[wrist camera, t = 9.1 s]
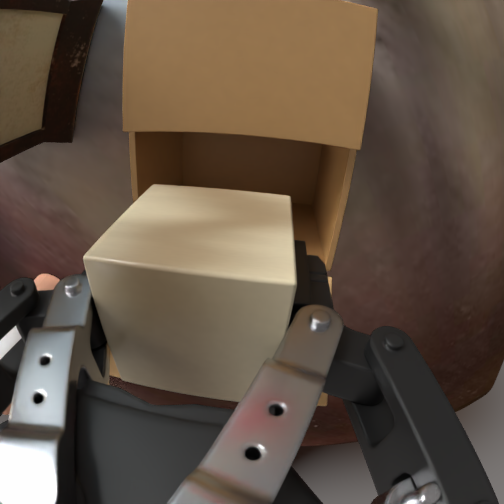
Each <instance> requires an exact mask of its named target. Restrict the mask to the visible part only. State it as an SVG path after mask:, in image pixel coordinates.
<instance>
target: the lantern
mask: <svg viewBox="0 0 504 504" xmlns="http://www.w3.org/2000/svg"><path fill="white" fill-rule="evenodd" d="M102 3H103V0H0V163H1V162H3V161H5V160H7V159H9V158H11V157H13V156H15V155H17V154H19V153H21V152H23V151H25V150H27V149H29V148H32V147H34V146H36V145H38V144H41V143H43V142H56V143H72V138H73V130H74V122H75V115H76V109H77V103H78V97H79V91H80V86H81V81H82V76H83V71H84V66H85V62H86V58H87V54H88V50H89V46H90V42H91V38H92V35H93V31H94V27H95V24H96V21H97V18H98V14H99V11H100V8H101V5H102Z"/></svg>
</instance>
